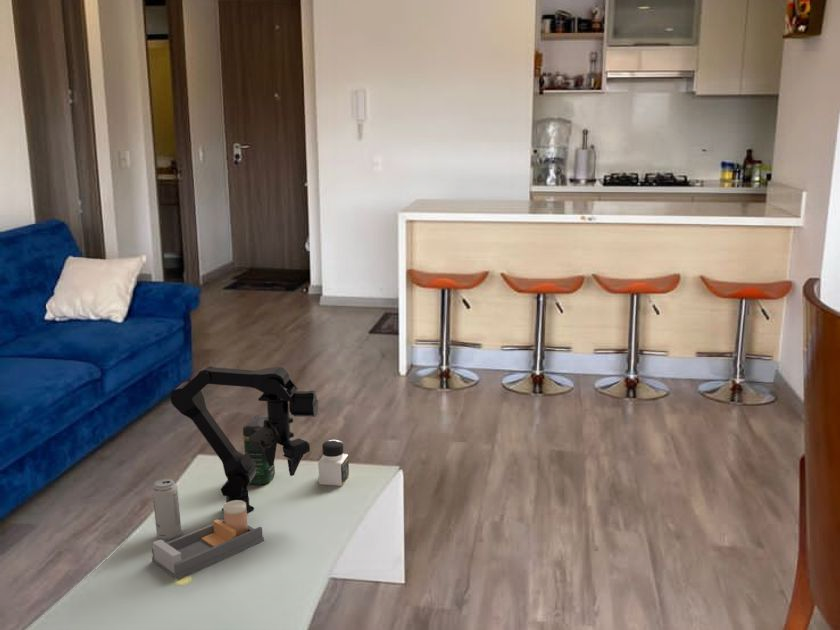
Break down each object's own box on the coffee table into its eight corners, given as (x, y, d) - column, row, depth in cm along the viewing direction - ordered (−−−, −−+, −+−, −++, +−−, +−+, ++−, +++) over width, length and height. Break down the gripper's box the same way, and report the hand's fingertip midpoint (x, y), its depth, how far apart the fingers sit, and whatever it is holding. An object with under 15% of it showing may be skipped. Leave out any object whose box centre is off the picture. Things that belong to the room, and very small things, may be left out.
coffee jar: (269, 486, 231) (265, 426, 227) (242, 485, 232) (238, 425, 228) (278, 472, 241) (275, 414, 237) (253, 471, 242) (249, 413, 237)
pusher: (201, 540, 199) (200, 526, 199) (218, 532, 203) (217, 519, 202) (220, 551, 194) (219, 537, 193) (236, 544, 197) (235, 530, 196)
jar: (240, 527, 206) (237, 498, 204) (252, 534, 202) (250, 504, 200) (221, 535, 202) (218, 505, 200) (233, 542, 198) (231, 512, 196)
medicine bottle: (342, 486, 231) (340, 447, 228) (318, 484, 232) (317, 446, 229) (349, 476, 238) (347, 438, 235) (326, 474, 239) (324, 436, 236)
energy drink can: (158, 531, 206) (153, 478, 203) (182, 529, 207) (177, 475, 204) (155, 543, 200) (150, 488, 197) (180, 540, 202) (175, 486, 198)
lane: (152, 561, 192) (150, 540, 191) (237, 525, 209) (235, 506, 208) (178, 579, 184) (175, 558, 183) (263, 540, 201) (262, 520, 200)
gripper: (232, 415, 210) (236, 470, 214) (274, 433, 198) (278, 490, 201) (267, 404, 218) (270, 457, 222) (309, 421, 206) (312, 476, 209)
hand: (281, 470), depth 213 cm, fingers open, 9 cm apart
